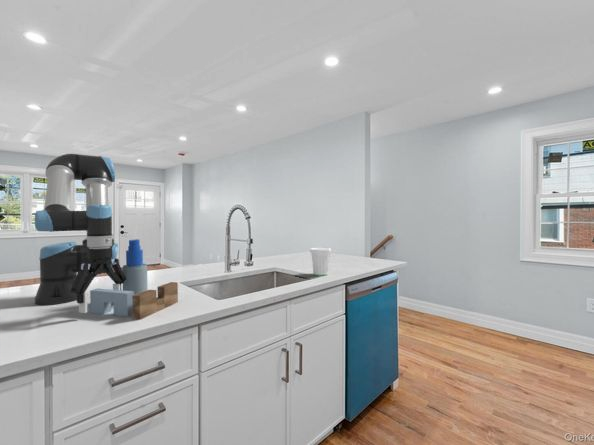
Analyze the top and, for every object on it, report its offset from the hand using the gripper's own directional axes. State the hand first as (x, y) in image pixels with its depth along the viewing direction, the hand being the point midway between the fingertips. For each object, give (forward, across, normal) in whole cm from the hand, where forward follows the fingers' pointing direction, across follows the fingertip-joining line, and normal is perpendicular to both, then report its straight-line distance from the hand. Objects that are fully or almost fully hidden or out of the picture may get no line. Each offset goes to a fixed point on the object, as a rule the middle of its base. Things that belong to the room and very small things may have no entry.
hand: (101, 306), depth 106 cm
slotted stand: (+2, +7, -18) cm, 19 cm away
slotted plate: (+2, 0, -5) cm, 5 cm away
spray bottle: (+2, +15, -1) cm, 15 cm away
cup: (+2, +85, -66) cm, 108 cm away
